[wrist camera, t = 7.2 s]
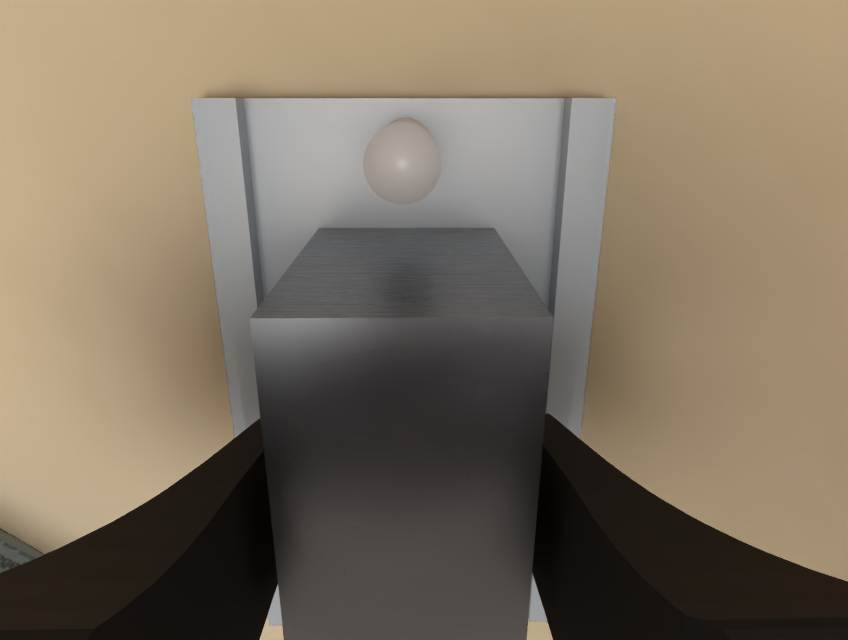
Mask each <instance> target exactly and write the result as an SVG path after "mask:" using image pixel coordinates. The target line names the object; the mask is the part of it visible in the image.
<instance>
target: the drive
mask: <svg viewBox="0 0 848 640" xmlns="http://www.w3.org/2000/svg"><path fill="white" fill-rule="evenodd" d="M553 318H554V317H553V316H552V314H551V313H550V311H549V310H548V308H547V307H546V305H545V304H544V302H543V301H542V299H541V298H540V296H539V295H538V293H537V292H536V290H535V289H534V287H533V285H532V284H531V282H530V281H529V279H528V278H527V276H526V275H525V273H524V272H523V270H522V269H521V267H520V266H519V264H518V263H517V261H516V260H515V258H514V257H513V255H512V254H511V252H510V251H509V249H508V248H507V246H506V245H505V243H504V242H503V240H502V239H501V237H500V236H499V234H498V233H497V231H496V230H495V228H318V230H317V231H316V232H315V234H314V235H313V236H312V237H311V239H310V240H309V241H308V243H307V244H306V245H305V247H304V248H303V249H302V251H301V252H300V253H299V254H298V256H297V257H296V258H295V260H294V261H293V262H292V264H291V265H290V266H289V268H288V269H287V270H286V271H285V273H284V274H283V275H282V277H281V278H280V279H279V281H278V282H277V283H276V285H275V286H274V287H273V288H272V290H271V291H270V292H269V294H268V295H267V296H266V298H265V299H264V300H263V302H262V303H261V304H260V305H259V307H258V308H257V309H256V311H255V312H254V313H253V315H252V316H251V317H250V327H251V336H252V345H253V355H254V364H255V373H256V383H257V392H258V401H259V411H260V420H261V429H262V439H263V448H264V457H265V467H266V476H267V485H268V495H269V504H270V513H271V523H272V532H273V541H274V551H275V560H276V569H277V579H278V588H279V597H280V607H281V616H282V625H283V635H284V640H526V638H527V626H528V614H529V602H530V590H531V579H532V567H533V555H534V543H535V531H536V519H537V507H538V496H539V484H540V472H541V460H542V448H543V436H544V424H545V413H546V401H547V389H548V377H549V365H550V353H551V341H552V330H553Z"/></svg>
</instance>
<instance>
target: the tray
mask: <svg viewBox="0 0 848 640" xmlns="http://www.w3.org/2000/svg"><path fill="white" fill-rule="evenodd" d="M191 103H192V111H193V118H194V126H195V134H196V141H197V149H198V157H199V165H200V172H201V180H202V188H203V196H204V203H205V211H206V219H207V227H208V234H209V242H210V250H211V258H212V265H213V273H214V281H215V289H216V296H217V304H218V312H219V320H220V327H221V335H222V343H223V350H224V358H225V366H226V374H227V381H228V389H229V397H230V405H231V412H232V420H233V428H234V436H235V438H236V437H237V436H238V435H239V434H240V433H242V432H243V431H244V430H245V429H247V428H248V427H249V426H250V425H252V424H253V423H254V422H255V421H257V420H258V419H259V418H260V411H259V401H258V392H257V383H256V373H255V364H254V355H253V345H252V336H251V327H250V317H251V316H252V315H253V313H254V312H255V311H256V309H257V308H258V307H259V305H260V304H261V303H262V302H263V300H264V299H265V298H266V296H267V295H268V294H269V292H270V291H271V290H272V288H273V287H274V286H275V285H276V283H277V282H278V281H279V279H280V278H281V277H282V275H283V274H284V273H285V271H286V270H287V269H288V268H289V266H290V265H291V264H292V262H293V261H294V260H295V258H296V257H297V256H298V254H299V253H300V252H301V251H302V249H303V248H304V247H305V245H306V244H307V243H308V241H309V240H310V239H311V237H312V236H313V235H314V234H315V232H316V231H317V230H318V228H495V230H496V231H497V233H498V234H499V236H500V237H501V239H502V240H503V242H504V243H505V245H506V246H507V248H508V249H509V251H510V252H511V254H512V255H513V257H514V258H515V260H516V261H517V263H518V264H519V266H520V267H521V269H522V270H523V272H524V273H525V275H526V276H527V278H528V279H529V281H530V282H531V284H532V285H533V287H534V289H535V290H536V292H537V293H538V295H539V296H540V298H541V299H542V301H543V302H544V304H545V305H546V307H547V308H548V310H549V311H550V313H551V314H552V316H553V317H554V318H553V330H552V341H551V353H550V365H549V377H548V389H547V401H546V413H545V414H550V415H552V416H553V417H554V418H556V419H557V420H558V421H559V422H560V423H562V424H563V425H564V426H565V427H566V428H567V429H569V430H570V431H571V432H572V433H573V434H574V435H576V436H577V437H578V438H579V439H580V435H581V425H582V416H583V406H584V397H585V387H586V378H587V369H588V359H589V350H590V340H591V331H592V322H593V312H594V303H595V293H596V284H597V275H598V265H599V256H600V246H601V237H602V228H603V218H604V209H605V199H606V190H607V180H608V171H609V162H610V152H611V143H612V133H613V124H614V115H615V105H616V98H191ZM268 619H269V626H280V625H282V616H281V607H280V597H279V588H278V585H277V588H276V591H275V594H274V597H273V600H272V603H271V606H270V609H269V612H268ZM528 619H529V622H548V621H547V618H546V615H545V612H544V608H543V605H542V602H541V599H540V596H539V592H538V589H537V586H536V583H535V580H534V577H533V573H532V579H531V590H530V602H529V614H528Z"/></svg>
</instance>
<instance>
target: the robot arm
mask: <svg viewBox="0 0 848 640" xmlns="http://www.w3.org/2000/svg"><path fill="white" fill-rule="evenodd" d="M532 573H533V577H534V580H535V583H536V586H537V589H538V592H539V596H540V599H541V602H542V605H543V608H544V612H545V615H546V618H547V621H548V624H549V628H550V631H551V634H552V637H553V640H848V582H847V581H844V580H841V579H838V578H835V577H832V576H829V575H826V574H823V573H819V572H816V571H813V570H811V569H808V568H805V567H803V566H800V565H798V564H795V563H792V562H790V561H787V560H785V559H782V558H780V557H777V556H775V555H772V554H769V553H767V552H765V551H762V550H760V549H758V548H755V547H753V546H751V545H748V544H746V543H744V542H742V541H739V540H737V539H735V538H733V537H731V536H729V535H727V534H725V533H723V532H721V531H719V530H717V529H715V528H712V527H710V526H708V525H706V524H704V523H703V522H701V521H699V520H697V519H695V518H693V517H691V516H689V515H688V514H686V513H684V512H682V511H681V510H679V509H677V508H676V507H674V506H672V505H670V504H669V503H667V502H665V501H664V500H662V499H660V498H659V497H657V496H656V495H654V494H652V493H651V492H649V491H648V490H646V489H645V488H643V487H642V486H640V485H639V484H638V483H636V482H635V481H633V480H632V479H630V478H629V477H628V476H626V475H625V474H623V473H622V472H621V471H619V470H618V469H617V468H615V467H614V466H613V465H611V464H610V463H609V462H607V461H606V460H605V459H603V458H602V457H601V456H600V455H598V454H597V453H596V452H595V451H593V450H592V449H591V448H590V447H589V446H587V445H586V444H585V443H584V442H583V441H581V440H580V439H579V438H578V437H577V436H576V435H574V434H573V433H572V432H571V431H570V430H569V429H567V428H566V427H565V426H564V425H563V424H562V423H560V422H559V421H558V420H557V419H556V418H554V417H553V416H552V415H550V414H545V424H544V436H543V448H542V460H541V472H540V484H539V496H538V507H537V519H536V531H535V543H534V555H533V567H532ZM277 585H278V579H277V569H276V560H275V551H274V541H273V532H272V523H271V513H270V504H269V495H268V485H267V476H266V467H265V457H264V448H263V439H262V429H261V420H260V418H259V419H258V420H257V421H255V422H254V423H253V424H252V425H250V426H249V427H248V428H247V429H245V430H244V431H243V432H242V433H240V434H239V435H238V436H237V437H236V438H234V439H233V440H232V441H231V442H229V443H228V444H227V445H226V446H224V447H223V448H222V449H221V450H219V451H218V452H217V453H215V454H214V455H213V456H212V457H210V458H209V459H208V460H207V461H205V462H204V463H203V464H201V465H200V466H199V467H197V468H196V469H194V470H193V471H192V472H190V473H189V474H187V475H186V476H185V477H183V478H182V479H180V480H179V481H177V482H176V483H175V484H173V485H172V486H170V487H169V488H168V489H166V490H165V491H163V492H162V493H160V494H159V495H157V496H156V497H154V498H152V499H151V500H149V501H148V502H146V503H144V504H143V505H141V506H139V507H138V508H136V509H134V510H132V511H131V512H129V513H127V514H125V515H124V516H122V517H120V518H119V519H117V520H115V521H113V522H111V523H109V524H107V525H105V526H103V527H101V528H99V529H97V530H95V531H93V532H91V533H89V534H87V535H85V536H83V537H81V538H79V539H77V540H75V541H73V542H71V543H69V544H67V545H65V546H63V547H61V548H59V549H56V550H54V551H52V552H50V553H47V554H45V555H43V556H40V557H38V558H36V559H33V560H31V561H29V562H26V563H24V564H21V565H19V566H16V567H14V568H11V569H9V570H6V571H4V572H1V573H0V640H259V639H260V636H261V633H262V630H263V627H264V624H265V621H266V618H267V615H268V612H269V609H270V606H271V603H272V600H273V597H274V594H275V591H276V588H277Z"/></svg>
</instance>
